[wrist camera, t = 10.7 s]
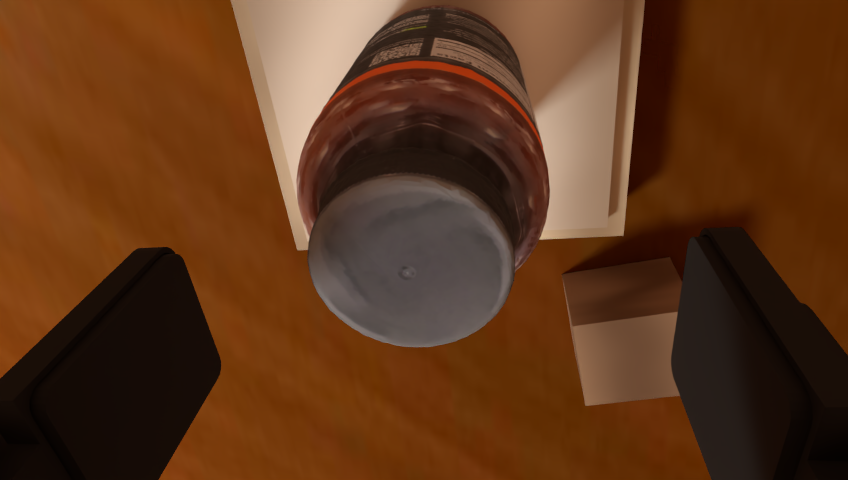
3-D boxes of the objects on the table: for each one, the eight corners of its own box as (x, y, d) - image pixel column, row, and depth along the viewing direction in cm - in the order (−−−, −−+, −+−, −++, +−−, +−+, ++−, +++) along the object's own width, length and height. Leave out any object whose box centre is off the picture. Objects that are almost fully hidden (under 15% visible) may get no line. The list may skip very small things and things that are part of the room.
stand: (641, -176, 18) (667, -186, 16) (611, 207, 25) (626, 243, 23) (227, -121, 20) (190, -121, 17) (311, 222, 27) (293, 257, 25)
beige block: (668, 255, 27) (696, 309, 23) (672, 334, 29) (697, 393, 26) (561, 272, 28) (572, 326, 24) (573, 347, 30) (585, 405, 27)
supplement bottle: (439, 194, 22) (407, 426, 13) (324, 86, 20) (187, 264, 11) (561, 92, 20) (634, 286, 10) (443, -43, 18) (399, 45, 8)
